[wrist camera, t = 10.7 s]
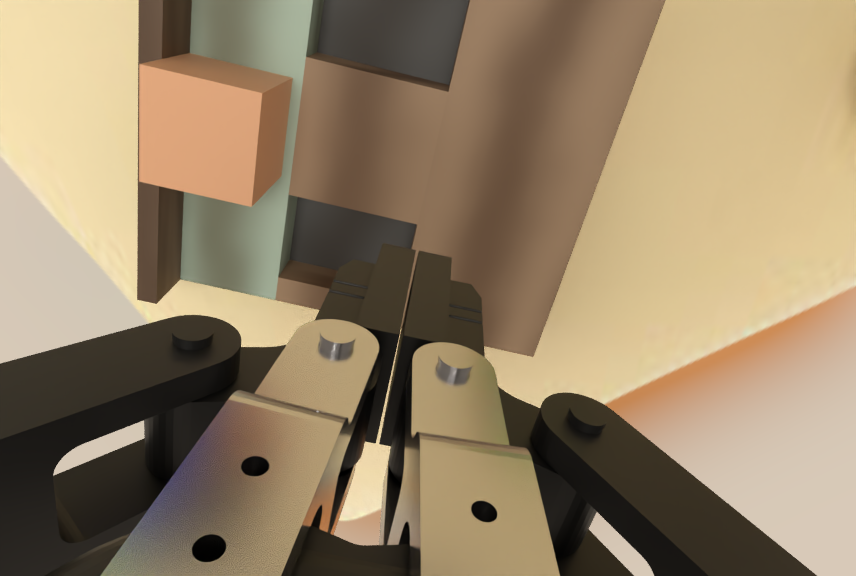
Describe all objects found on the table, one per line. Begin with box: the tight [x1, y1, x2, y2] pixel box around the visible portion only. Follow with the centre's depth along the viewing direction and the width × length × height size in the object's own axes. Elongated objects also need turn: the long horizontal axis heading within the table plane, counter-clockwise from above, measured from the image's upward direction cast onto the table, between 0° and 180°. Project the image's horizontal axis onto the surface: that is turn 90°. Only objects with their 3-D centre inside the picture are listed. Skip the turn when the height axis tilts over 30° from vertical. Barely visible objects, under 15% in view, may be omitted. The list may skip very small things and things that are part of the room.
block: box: [139, 53, 293, 207], centre depth 27 cm, size 5×5×5 cm
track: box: [137, 0, 665, 357], centre depth 30 cm, size 22×20×6 cm
